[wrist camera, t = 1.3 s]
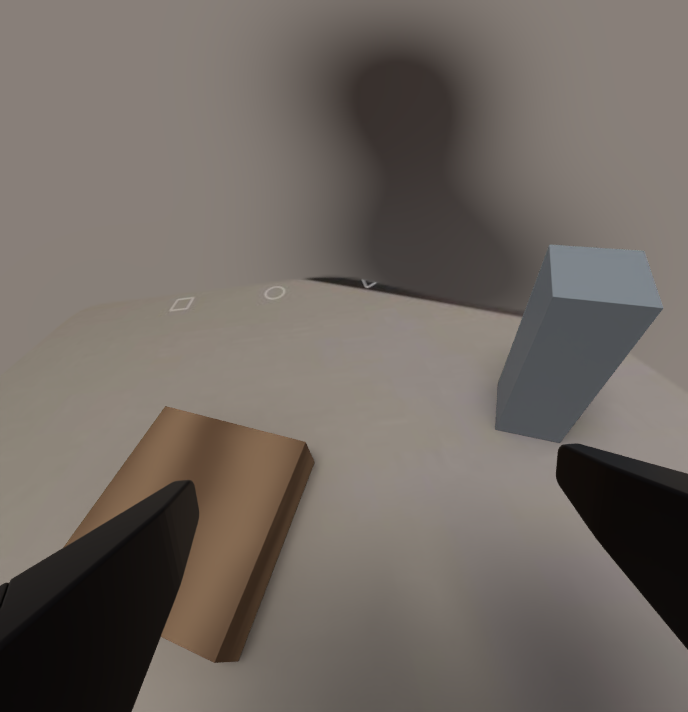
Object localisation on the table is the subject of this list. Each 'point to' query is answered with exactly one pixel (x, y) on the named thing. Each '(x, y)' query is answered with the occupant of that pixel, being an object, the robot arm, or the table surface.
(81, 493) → the table surface
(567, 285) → the slate block
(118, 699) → the robot arm
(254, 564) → the walnut block
